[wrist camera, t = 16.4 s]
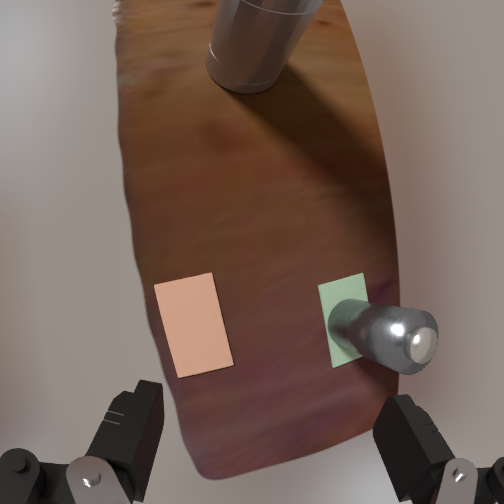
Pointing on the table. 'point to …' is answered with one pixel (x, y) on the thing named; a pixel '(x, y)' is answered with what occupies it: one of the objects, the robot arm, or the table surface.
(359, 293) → the mat
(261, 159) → the table surface
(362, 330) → the bottle
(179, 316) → the mat
